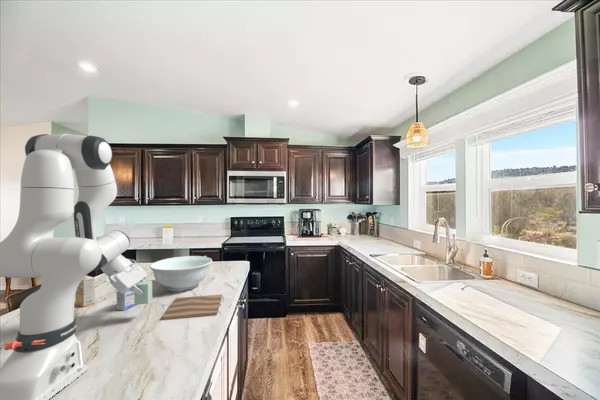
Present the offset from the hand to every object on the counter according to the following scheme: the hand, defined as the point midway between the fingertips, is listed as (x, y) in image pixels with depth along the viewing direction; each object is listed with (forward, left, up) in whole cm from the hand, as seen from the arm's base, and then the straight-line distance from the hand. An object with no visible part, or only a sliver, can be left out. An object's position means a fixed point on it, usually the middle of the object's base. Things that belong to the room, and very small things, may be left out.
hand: (145, 291), depth 110 cm
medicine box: (+14, +13, -11) cm, 22 cm away
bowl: (+39, -5, -11) cm, 41 cm away
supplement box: (+22, +35, -11) cm, 43 cm away
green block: (0, +1, -4) cm, 4 cm away
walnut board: (+7, -18, -11) cm, 23 cm away
